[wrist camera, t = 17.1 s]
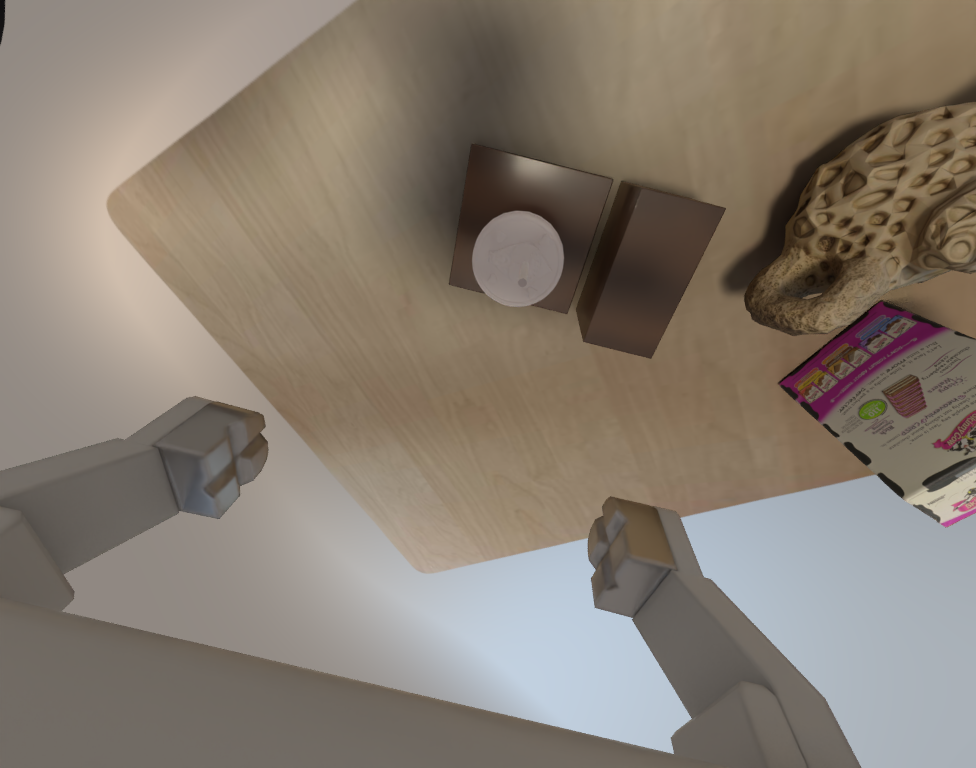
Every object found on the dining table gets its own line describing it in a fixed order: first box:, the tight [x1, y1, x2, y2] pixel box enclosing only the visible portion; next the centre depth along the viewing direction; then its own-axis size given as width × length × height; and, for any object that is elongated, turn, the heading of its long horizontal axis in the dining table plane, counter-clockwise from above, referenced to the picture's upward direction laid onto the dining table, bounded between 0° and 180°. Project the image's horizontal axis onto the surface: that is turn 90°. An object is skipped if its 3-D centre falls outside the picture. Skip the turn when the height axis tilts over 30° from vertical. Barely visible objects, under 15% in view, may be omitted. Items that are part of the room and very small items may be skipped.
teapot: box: [744, 102, 976, 336], centre depth 26 cm, size 21×12×15 cm, turn 135°
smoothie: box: [472, 211, 564, 307], centre depth 29 cm, size 6×6×14 cm
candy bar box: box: [779, 301, 976, 527], centre depth 31 cm, size 11×5×16 cm, turn 149°
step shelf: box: [449, 144, 726, 359], centre depth 33 cm, size 12×19×8 cm, turn 78°
